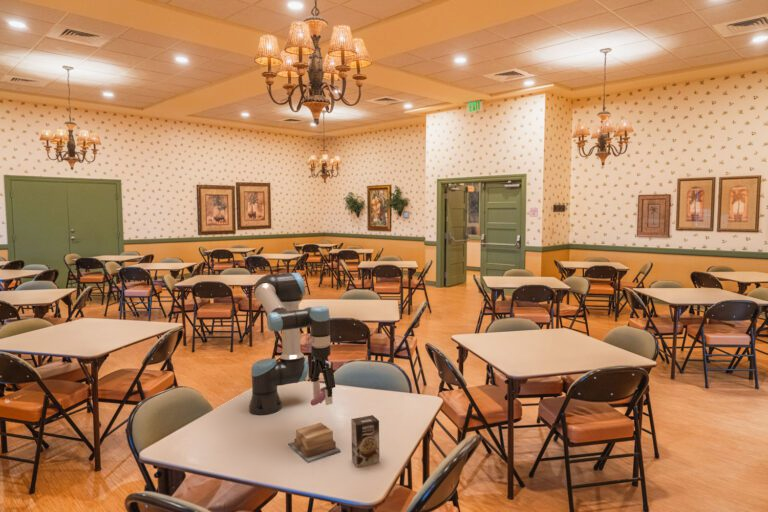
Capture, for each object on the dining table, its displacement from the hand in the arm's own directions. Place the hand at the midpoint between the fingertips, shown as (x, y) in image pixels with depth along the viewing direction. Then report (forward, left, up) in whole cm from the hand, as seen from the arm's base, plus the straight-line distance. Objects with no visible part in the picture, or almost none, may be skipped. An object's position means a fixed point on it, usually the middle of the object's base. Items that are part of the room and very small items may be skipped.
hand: (322, 400), depth 198 cm
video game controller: (0, -1, 0) cm, 1 cm away
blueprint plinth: (+2, -5, -18) cm, 19 cm away
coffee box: (+23, +6, -18) cm, 29 cm away
